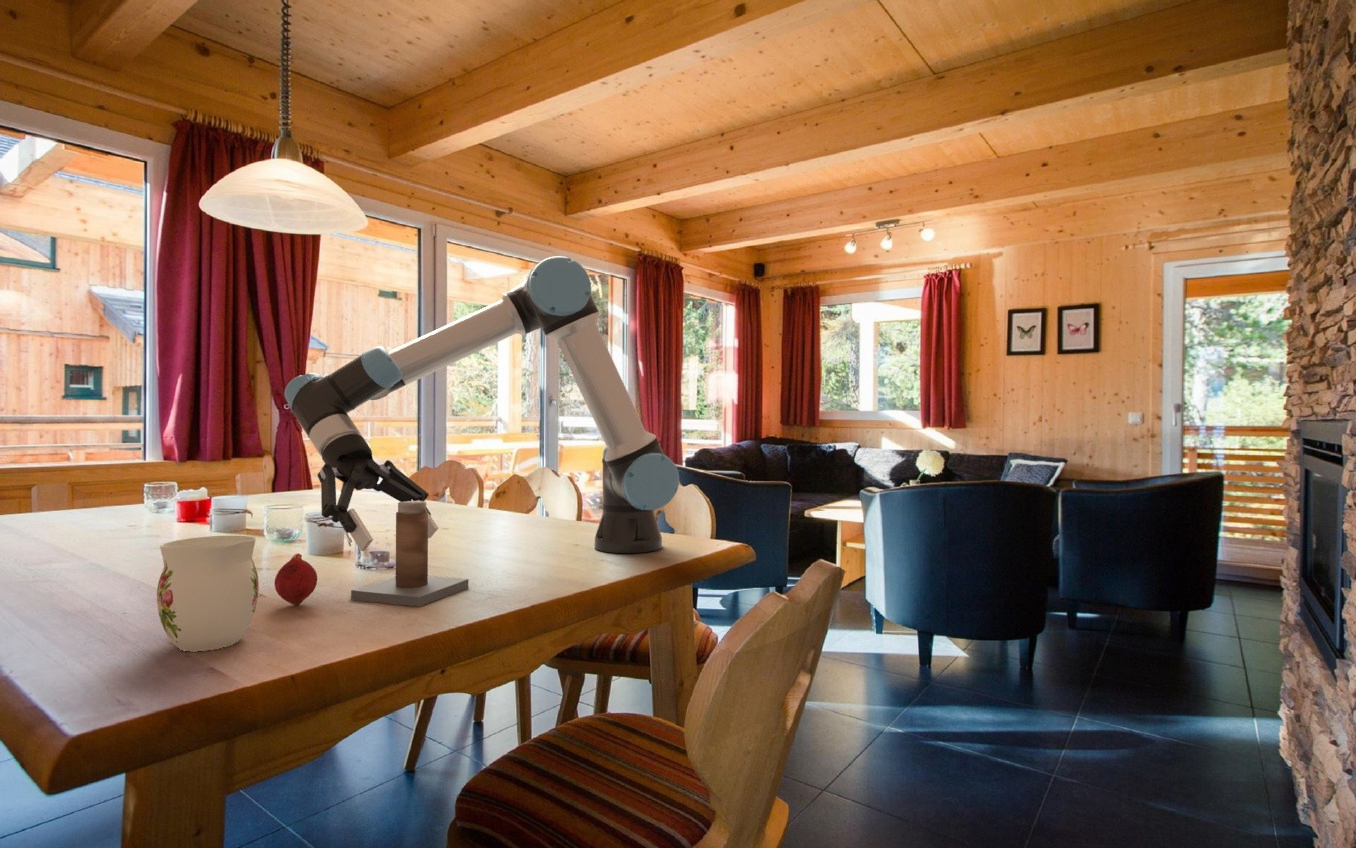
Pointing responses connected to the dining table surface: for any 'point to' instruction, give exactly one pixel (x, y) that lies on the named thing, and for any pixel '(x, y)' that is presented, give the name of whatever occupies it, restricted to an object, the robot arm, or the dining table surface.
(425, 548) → the pepper mill
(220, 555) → the pitcher
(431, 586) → the slate board
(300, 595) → the onion
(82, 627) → the dining table surface
